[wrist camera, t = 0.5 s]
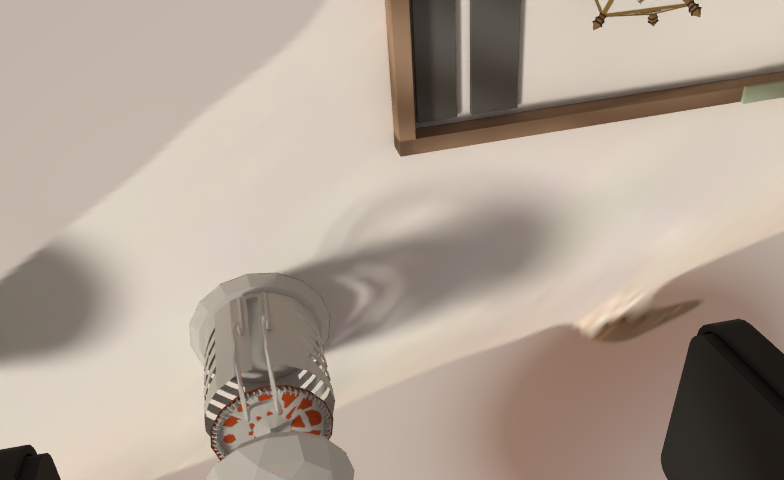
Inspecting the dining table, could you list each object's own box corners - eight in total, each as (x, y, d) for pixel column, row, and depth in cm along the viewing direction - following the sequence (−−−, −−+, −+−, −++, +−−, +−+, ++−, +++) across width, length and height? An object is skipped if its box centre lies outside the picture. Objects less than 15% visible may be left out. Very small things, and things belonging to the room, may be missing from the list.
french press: (206, 396, 50) (210, 805, 29) (165, 267, 44) (131, 670, 23) (338, 366, 51) (430, 735, 31) (316, 237, 45) (413, 590, 24)
